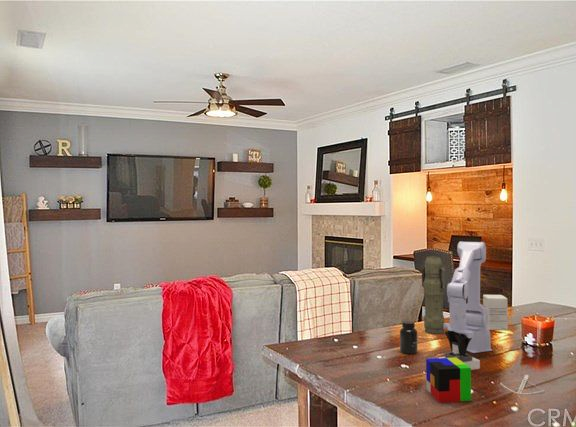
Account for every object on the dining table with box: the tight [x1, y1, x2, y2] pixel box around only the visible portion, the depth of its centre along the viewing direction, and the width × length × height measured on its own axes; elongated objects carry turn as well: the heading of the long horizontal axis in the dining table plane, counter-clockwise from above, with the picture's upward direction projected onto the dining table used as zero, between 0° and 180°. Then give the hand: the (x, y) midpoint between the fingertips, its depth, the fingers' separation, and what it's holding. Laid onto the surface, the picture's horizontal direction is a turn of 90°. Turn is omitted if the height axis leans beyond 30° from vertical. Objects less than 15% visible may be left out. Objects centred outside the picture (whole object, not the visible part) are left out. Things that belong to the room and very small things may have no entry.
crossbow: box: [499, 374, 545, 396], centre depth 154 cm, size 16×13×2 cm
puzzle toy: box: [425, 357, 472, 403], centre depth 148 cm, size 10×10×10 cm
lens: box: [451, 340, 464, 358], centre depth 173 cm, size 4×4×6 cm
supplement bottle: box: [399, 320, 418, 355], centre depth 192 cm, size 7×7×12 cm
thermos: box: [421, 255, 447, 335], centre depth 221 cm, size 9×12×35 cm
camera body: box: [437, 351, 481, 371], centre depth 173 cm, size 12×8×4 cm, turn 107°
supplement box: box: [482, 294, 509, 331], centre depth 226 cm, size 9×9×15 cm
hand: (458, 352), depth 173 cm, fingers closed on lens, 4 cm apart
